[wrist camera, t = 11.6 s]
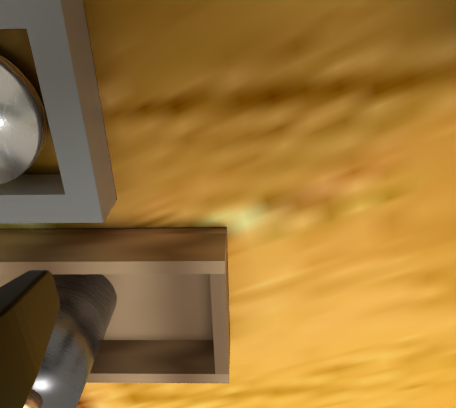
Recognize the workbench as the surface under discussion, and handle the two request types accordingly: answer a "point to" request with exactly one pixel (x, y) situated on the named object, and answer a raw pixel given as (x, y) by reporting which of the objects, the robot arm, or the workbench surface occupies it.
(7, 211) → the checker frame
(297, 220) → the workbench surface
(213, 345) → the trough
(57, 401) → the cell
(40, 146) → the silver metal disc
